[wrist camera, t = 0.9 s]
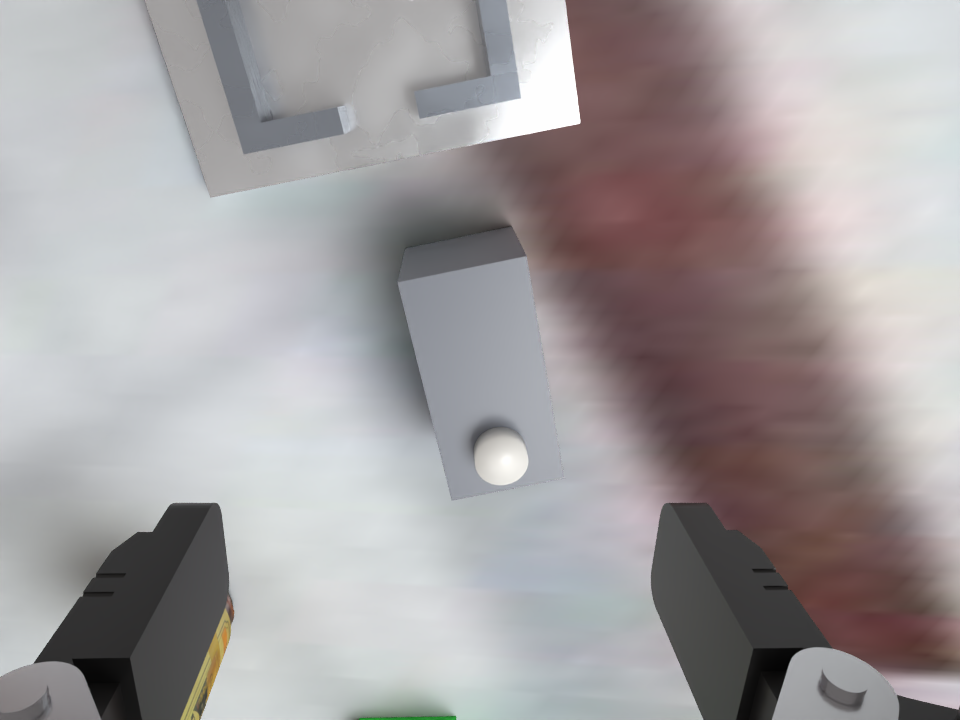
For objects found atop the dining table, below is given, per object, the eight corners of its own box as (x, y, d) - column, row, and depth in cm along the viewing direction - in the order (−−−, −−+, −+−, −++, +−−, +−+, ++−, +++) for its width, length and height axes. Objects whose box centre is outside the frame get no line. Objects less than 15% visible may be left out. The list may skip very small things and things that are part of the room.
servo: (511, 225, 31) (529, 262, 25) (545, 416, 35) (568, 491, 29) (405, 247, 31) (395, 289, 25) (450, 435, 35) (452, 514, 29)
